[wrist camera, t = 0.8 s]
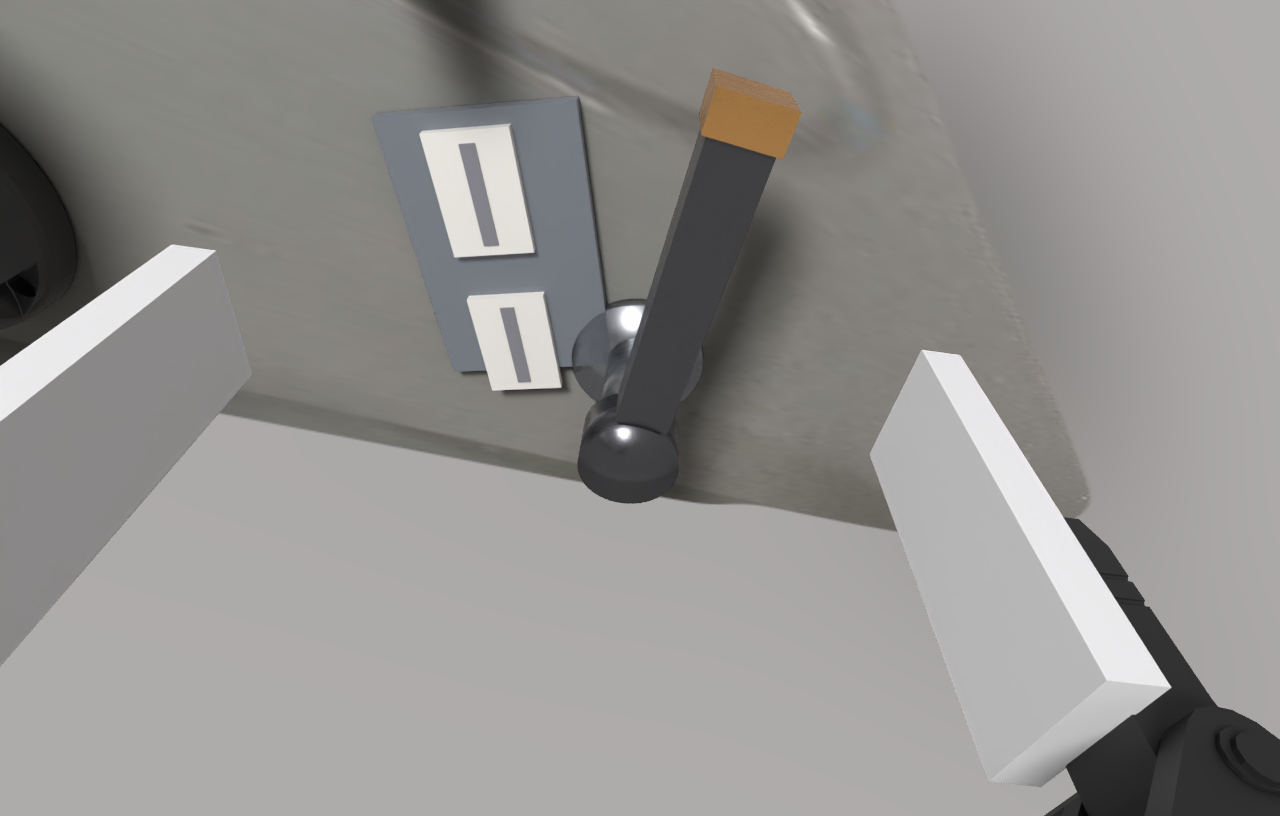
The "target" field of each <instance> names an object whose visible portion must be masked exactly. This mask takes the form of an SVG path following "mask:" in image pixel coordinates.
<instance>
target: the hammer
mask: <svg viewBox="0 0 1280 816" xmlns="http://www.w3.org/2000/svg"><path fill="white" fill-rule="evenodd" d="M801 113H802V112H801V110H800V108H799V107H798V105H797V103H796V101H795V100H794V98H793V96H792V94H791V93H790V92H787V91H784V90H781V89H778V88H775V87H771V86H768V85H765V84H762V83H759V82H755V81H752V80H749V79H746V78H743V77H740V76H736V75H733V74H730V73H727V72H724V71H720V70H717V69H714V68H713V69H712V72H711V76H710V79H709V82H708V85H707V89H706V92H705V95H704V99H703V102H702V105H701V108H700V112H699V120H700V131H699V134H698V138H697V141H696V144H695V147H694V150H693V154H692V157H691V160H690V163H689V166H688V170H687V173H686V176H685V179H684V183H683V186H682V189H681V192H680V195H679V199H678V202H677V205H676V208H675V211H674V215H673V218H672V221H671V224H670V227H669V231H668V234H667V237H666V240H665V243H664V247H663V250H662V253H661V256H660V259H659V263H658V266H657V269H656V272H655V275H654V279H653V282H652V285H651V288H650V291H649V295H648V298H647V301H646V304H645V307H644V311H643V314H642V317H641V320H640V323H639V327H638V330H637V333H636V336H635V339H634V343H633V346H632V349H631V352H630V355H629V359H628V362H627V365H626V368H625V371H624V375H623V378H622V381H621V384H620V387H619V391H618V393H617V394H613V395H610V396H607V397H605V398H603V399H601V400H600V401H598V402H597V403H596V404H595V405H593V406H592V408H591V409H590V410H589V412H588V414H587V416H586V419H585V424H584V429H583V435H582V440H581V446H580V452H579V457H578V472H579V475H580V477H581V479H582V481H583V482H584V484H585V485H586V486H587V487H588V488H589V489H590V490H592V491H593V492H594V493H595V494H597V495H599V496H601V497H603V498H605V499H608V500H610V501H614V502H619V503H642V502H647V501H650V500H653V499H655V498H658V497H659V496H661V495H663V494H664V493H666V492H667V491H668V490H669V489H670V488H671V487H672V485H673V484H674V482H675V480H676V478H677V474H678V425H677V421H676V418H675V413H676V411H677V408H678V405H679V403H680V400H681V398H682V395H683V393H684V390H685V388H686V385H687V383H688V380H689V378H690V375H691V372H692V370H693V367H694V365H695V362H696V360H697V357H698V355H699V352H700V350H701V347H702V345H703V342H704V340H705V337H706V334H707V332H708V329H709V327H710V324H711V322H712V319H713V317H714V314H715V312H716V309H717V307H718V304H719V301H720V299H721V296H722V294H723V291H724V289H725V286H726V284H727V281H728V279H729V276H730V274H731V271H732V268H733V266H734V263H735V261H736V258H737V256H738V253H739V251H740V248H741V246H742V243H743V241H744V238H745V235H746V233H747V230H748V228H749V225H750V223H751V220H752V218H753V215H754V213H755V210H756V208H757V205H758V202H759V200H760V197H761V195H762V192H763V190H764V187H765V185H766V182H767V180H768V177H769V175H770V172H771V169H772V167H773V164H774V162H775V159H776V158H779V159H783V158H784V155H785V153H786V150H787V148H788V145H789V143H790V140H791V138H792V135H793V133H794V130H795V128H796V125H797V123H798V120H799V118H800V115H801Z"/></svg>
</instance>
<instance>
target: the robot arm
mask: <svg viewBox="0 0 1280 816" xmlns="http://www.w3.org/2000/svg"><path fill="white" fill-rule="evenodd" d="M75 268H76V246H75V240H74V236H73V232H72V228H71V225H70V222H69V220H68V217H67V215H66V212H65V210H64V208H63V206H62V204H61V202H60V200H59V198H58V196H57V195H56V193H55V191H54V189H53V188H52V186H51V185H50V183H49V181H48V180H47V179H46V177H45V176H44V174H43V173H42V171H41V170H40V169H39V167H38V166H37V165H36V163H35V162H34V161H33V160H32V158H31V157H30V156H29V155H28V154H27V152H26V151H25V150H24V149H23V148H22V147H21V146H20V145H19V143H18V142H17V141H16V140H15V139H14V138H13V137H12V136H11V135H10V134H9V133H8V132H7V131H6V130H5V129H4V128H3V127H2V126H1V125H0V329H3V328H6V327H10V326H13V325H15V324H18V323H20V322H23V321H25V320H26V319H28V318H30V317H32V316H33V315H35V314H36V313H38V312H39V311H41V310H43V309H44V308H46V307H47V306H49V305H50V304H52V303H53V302H55V301H56V300H58V299H59V298H60V297H61V296H62V295H63V294H64V293H65V292H66V290H67V289H68V287H69V286H70V284H71V282H72V279H73V277H74V273H75ZM251 375H252V371H251V368H250V365H249V361H248V358H247V354H246V351H245V348H244V344H243V341H242V337H241V334H240V330H239V327H238V324H237V320H236V317H235V313H234V310H233V307H232V303H231V300H230V296H229V293H228V290H227V286H226V283H225V279H224V276H223V273H222V269H221V266H220V262H219V259H218V255H217V252H216V251H215V250H207V249H200V248H193V247H186V246H179V245H170V246H169V247H168V248H166V249H165V250H163V251H162V252H161V253H159V254H158V255H156V256H155V257H153V258H152V259H151V260H149V261H148V262H146V263H145V264H144V265H142V266H141V267H139V268H138V269H137V270H135V271H134V272H132V273H131V274H129V275H128V276H127V277H125V278H124V279H122V280H121V281H120V282H118V283H117V284H115V285H114V286H113V287H111V288H110V289H108V290H107V291H105V292H104V293H103V294H101V295H100V296H98V297H97V298H96V299H94V300H93V301H91V302H90V303H88V304H87V305H86V306H84V307H83V308H81V309H80V310H79V311H77V312H76V313H74V314H73V315H72V316H70V317H69V318H67V319H66V320H64V321H63V322H62V323H60V324H59V325H57V326H56V327H55V328H53V329H52V330H50V331H49V332H48V333H46V334H45V335H43V336H42V337H40V338H39V339H38V340H36V341H35V342H33V343H32V344H31V345H29V346H28V347H26V348H25V349H24V350H22V351H21V352H19V353H18V354H16V355H15V356H14V357H12V358H11V359H9V360H8V361H7V362H5V363H4V364H2V365H1V366H0V666H1V665H2V664H3V663H4V662H5V660H6V659H7V658H8V657H9V656H10V655H11V654H12V652H13V651H14V650H15V649H16V648H17V647H18V645H19V644H20V643H21V642H22V641H23V640H24V639H25V637H26V636H27V635H28V634H29V633H30V632H31V630H32V629H33V628H34V627H35V626H36V624H37V623H38V622H39V621H40V620H41V619H42V618H43V616H44V615H45V614H46V613H47V612H48V611H49V609H50V608H51V607H52V606H53V605H54V604H55V603H56V601H57V600H58V599H59V598H60V597H61V596H62V595H63V593H64V592H65V591H66V590H67V589H68V587H69V586H70V585H71V584H72V583H73V582H74V580H75V579H76V578H77V577H78V576H79V575H80V574H81V572H82V571H83V570H84V569H85V568H86V567H87V566H88V564H89V563H90V562H91V561H92V560H93V559H94V557H95V556H96V555H97V554H98V553H99V552H100V550H101V549H102V548H103V547H104V546H105V545H106V543H107V542H108V541H109V540H110V539H111V537H112V536H113V535H114V534H115V533H116V532H117V531H118V530H119V528H120V527H121V526H122V525H123V524H124V523H125V521H126V520H127V519H128V518H129V517H130V516H131V515H132V513H133V512H134V511H135V510H136V509H137V508H138V506H139V505H140V504H141V503H142V502H143V500H144V499H145V498H146V497H147V496H148V495H149V494H150V492H151V491H152V490H153V489H154V488H155V487H156V486H157V484H158V483H159V482H160V481H161V480H162V479H163V477H164V476H165V475H166V474H167V473H168V471H169V470H170V469H171V468H172V467H173V466H174V465H175V463H176V462H177V461H178V460H179V459H180V457H181V456H182V455H183V454H184V453H185V452H186V451H187V450H188V448H189V447H190V446H191V445H192V444H193V442H194V441H195V440H196V439H197V438H198V437H199V436H200V435H201V433H202V432H203V431H204V430H205V429H206V427H207V426H208V425H209V424H210V423H211V422H212V420H213V419H214V418H215V417H216V416H217V415H218V414H219V413H220V411H221V410H222V409H223V408H224V407H225V406H226V404H227V403H228V402H229V401H230V400H231V399H232V397H233V396H234V395H235V394H236V393H237V392H238V390H239V389H240V388H241V387H242V386H243V385H244V384H245V382H246V381H247V380H248V379H249V378H250V377H251ZM870 457H871V459H872V462H873V465H874V468H875V470H876V473H877V476H878V479H879V481H880V484H881V487H882V490H883V493H884V495H885V498H886V501H887V504H888V506H889V509H890V512H891V515H892V517H893V520H894V523H895V526H896V528H897V531H898V534H899V537H900V539H901V542H902V545H903V548H904V550H905V553H906V556H907V559H908V561H909V564H910V567H911V570H912V572H913V575H914V578H915V581H916V583H917V586H918V589H919V592H920V595H921V597H922V600H923V603H924V605H925V608H926V611H927V614H928V616H929V619H930V622H931V625H932V628H933V630H934V633H935V636H936V639H937V641H938V644H939V647H940V650H941V653H942V655H943V658H944V661H945V664H946V666H947V669H948V672H949V675H950V677H951V680H952V683H953V685H954V688H955V691H956V694H957V697H958V699H959V702H960V705H961V708H962V710H963V713H964V716H965V719H966V722H967V724H968V727H969V730H970V733H971V735H972V738H973V741H974V743H975V746H976V749H977V752H978V754H979V757H980V760H981V763H982V766H983V768H984V771H985V774H986V777H987V779H988V782H996V783H1006V784H1016V785H1027V786H1036V787H1042V786H1043V785H1044V784H1046V783H1047V782H1048V781H1050V780H1051V779H1052V778H1054V777H1055V776H1056V775H1058V774H1059V773H1060V772H1061V771H1063V770H1064V769H1065V768H1067V770H1068V772H1069V775H1070V777H1071V779H1072V781H1073V783H1074V785H1075V788H1076V790H1077V793H1076V794H1074V795H1073V796H1071V797H1070V798H1069V799H1067V800H1066V801H1065V802H1063V803H1062V804H1060V805H1059V806H1057V807H1056V808H1054V809H1053V810H1052V811H1050V812H1049V813H1047V814H1046V815H1044V816H1280V740H1279V739H1278V738H1277V737H1275V736H1274V735H1273V734H1271V733H1270V732H1269V731H1267V730H1266V729H1265V728H1263V727H1262V726H1260V725H1259V724H1258V723H1257V722H1255V721H1253V720H1251V719H1249V718H1247V717H1245V716H1243V715H1241V714H1238V713H1236V712H1235V711H1233V710H1229V709H1225V708H1220V707H1218V706H1217V705H1216V704H1215V703H1214V701H1213V700H1212V699H1211V697H1210V696H1209V694H1208V693H1207V692H1206V690H1205V688H1204V687H1203V685H1202V684H1201V682H1200V681H1199V679H1198V678H1197V677H1196V675H1195V674H1194V672H1193V671H1192V669H1191V668H1190V666H1189V665H1188V663H1187V662H1186V660H1185V659H1184V657H1183V656H1182V654H1181V653H1180V651H1179V650H1178V649H1177V647H1176V646H1175V644H1174V643H1173V641H1172V640H1171V638H1170V637H1169V635H1168V634H1167V632H1166V631H1165V629H1164V628H1163V626H1162V625H1161V624H1160V622H1159V620H1158V619H1157V617H1156V616H1155V615H1154V613H1153V612H1152V610H1151V609H1150V607H1146V606H1145V605H1144V601H1145V600H1144V598H1143V597H1142V595H1141V594H1140V592H1139V591H1138V589H1137V588H1136V587H1135V585H1134V584H1133V582H1129V581H1128V575H1127V573H1126V572H1125V570H1124V569H1123V567H1122V566H1121V564H1120V563H1119V561H1118V560H1117V558H1116V557H1115V556H1114V554H1113V553H1112V551H1111V550H1110V548H1109V547H1108V546H1107V545H1106V544H1105V543H1104V542H1103V541H1102V540H1101V539H1100V538H1099V537H1098V536H1096V535H1095V534H1094V533H1093V532H1092V531H1091V530H1090V529H1089V528H1088V527H1087V526H1085V524H1083V523H1082V522H1081V521H1080V520H1079V519H1073V518H1065V517H1063V516H1062V515H1061V513H1060V512H1059V510H1058V508H1057V507H1056V505H1055V504H1054V502H1053V501H1052V499H1051V497H1050V496H1049V494H1048V493H1047V491H1046V490H1045V488H1044V486H1043V485H1042V483H1041V482H1040V480H1039V479H1038V477H1037V475H1036V474H1035V472H1034V471H1033V469H1032V468H1031V466H1030V464H1029V463H1028V461H1027V460H1026V458H1025V457H1024V455H1023V453H1022V452H1021V450H1020V449H1019V447H1018V446H1017V444H1016V442H1015V441H1014V439H1013V438H1012V436H1011V435H1010V433H1009V431H1008V430H1007V428H1006V427H1005V425H1004V424H1003V422H1002V420H1001V419H1000V417H999V416H998V414H997V413H996V411H995V409H994V408H993V406H992V405H991V403H990V402H989V400H988V398H987V397H986V395H985V394H984V392H983V391H982V389H981V387H980V386H979V384H978V383H977V381H976V380H975V378H974V376H973V375H972V373H971V372H970V370H969V369H968V367H967V365H966V364H965V362H964V361H963V359H962V358H961V356H960V355H955V354H948V353H941V352H934V351H927V350H921V352H920V354H919V356H918V358H917V360H916V362H915V364H914V366H913V368H912V370H911V372H910V374H909V376H908V378H907V380H906V382H905V384H904V386H903V388H902V390H901V392H900V394H899V396H898V398H897V400H896V402H895V404H894V406H893V408H892V410H891V412H890V414H889V416H888V418H887V420H886V422H885V424H884V426H883V428H882V430H881V432H880V434H879V436H878V438H877V440H876V442H875V444H874V446H873V448H872V450H871V452H870Z"/></svg>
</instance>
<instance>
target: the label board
mask: <svg viewBox="0 0 1280 816" xmlns="http://www.w3.org/2000/svg"><path fill="white" fill-rule="evenodd" d="M371 118H372V121H373V124H374V127H375V130H376V133H377V136H378V139H379V142H380V145H381V148H382V151H383V155H384V158H385V161H386V164H387V167H388V170H389V173H390V176H391V179H392V182H393V185H394V188H395V192H396V195H397V198H398V201H399V204H400V207H401V210H402V213H403V216H404V219H405V222H406V225H407V229H408V232H409V235H410V238H411V241H412V244H413V247H414V250H415V253H416V256H417V259H418V262H419V266H420V269H421V272H422V275H423V278H424V281H425V284H426V287H427V290H428V293H429V296H430V299H431V303H432V306H433V309H434V312H435V315H436V318H437V321H438V324H439V327H440V330H441V333H442V336H443V340H444V343H445V346H446V349H447V352H448V355H449V358H450V361H451V364H452V367H453V370H454V372H462V371H485V370H487V373H488V377H489V380H490V384H491V387H492V391H493V390H516V389H540V388H561V387H562V383H563V382H562V377H561V372H560V367H573V365H574V363H573V364H572V362H575V363H576V364H575V366H577V363H578V366H581V365H582V366H585V365H586V366H594V365H595V366H596V365H598V364H600V365H605V364H606V365H607V362H606V361H608V356H609V354H607V353H606V352H607V351H609V350H610V349H609V350H608V347H609V348H610V342H609V337H608V334H607V333H606V332H608V328H607V323H606V322H607V320H606V317H605V314H606V313H605V311H606V305H607V304H606V297H605V290H604V282H603V275H602V267H601V260H600V252H599V245H598V238H597V230H596V223H595V215H594V208H593V200H592V193H591V186H590V178H589V171H588V163H587V156H586V148H585V141H584V133H583V126H582V119H581V111H580V104H579V96H572V97H560V98H548V99H536V100H524V101H512V102H500V103H488V104H476V105H464V106H452V107H440V108H428V109H416V110H404V111H392V112H380V113H376V114H375V115H374V116H372V117H371ZM603 314H604V315H603ZM598 315H600V316H599V317H603V318H602V319H601V318H599V317H598ZM602 315H603V316H602ZM596 318H597V319H596ZM592 319H593V320H592ZM603 319H604V320H603ZM599 320H600V321H601V322H600V321H599ZM605 320H606V321H605ZM591 321H592V322H594V321H595V322H594V323H592V322H591ZM598 321H599V322H598ZM602 321H603V322H602ZM604 321H605V322H604ZM589 322H590V323H589ZM587 323H588V324H587ZM591 323H592V324H591ZM596 323H598V325H599V326H596V325H597V324H596ZM600 324H601V326H602V327H601V326H600ZM605 324H606V326H605ZM587 325H589V326H590V327H591V328H593V329H591V328H589V329H588V327H589V326H587ZM594 325H595V326H596V327H597V328H598V327H599V328H598V329H597V328H596V327H595V326H594ZM603 325H604V326H605V327H604V326H603ZM593 326H594V327H595V328H594V327H593ZM585 328H586V329H585ZM603 328H604V329H605V330H604V329H603ZM582 329H584V330H582ZM587 329H588V330H589V331H588V330H587ZM590 329H591V330H590ZM585 330H587V331H588V332H589V333H588V332H587V331H585ZM594 330H595V331H594ZM597 330H598V331H599V332H600V334H599V332H598V331H597ZM582 331H583V332H585V333H583V332H582ZM601 331H602V333H601ZM591 332H592V333H591ZM593 332H594V334H593ZM579 333H580V334H581V333H582V334H581V335H582V336H581V335H580V334H579ZM595 333H596V334H595ZM586 334H587V335H589V334H590V335H589V336H590V337H591V336H592V334H593V336H592V337H591V338H590V337H589V336H587V335H586ZM578 335H580V336H581V337H580V336H578ZM585 335H586V336H587V337H586V336H585ZM594 335H595V337H596V338H595V337H594ZM599 335H600V336H601V337H599ZM605 335H606V337H605ZM577 336H578V339H577ZM583 337H584V338H583ZM602 337H603V338H602ZM607 338H608V339H607ZM585 339H587V340H589V341H588V342H589V343H587V342H586V341H587V340H585ZM592 339H593V340H592ZM594 339H596V340H597V341H595V340H594ZM600 339H601V340H600ZM603 339H605V340H606V341H607V340H608V341H607V342H606V341H605V340H604V342H605V343H604V342H603ZM576 340H577V341H578V340H579V341H580V342H575V341H576ZM582 340H583V342H582ZM584 340H585V341H584ZM599 340H600V341H599ZM593 341H595V342H593ZM581 342H582V343H581ZM596 342H597V344H596ZM601 342H602V343H601ZM574 343H575V344H574ZM579 343H581V345H580V348H579V345H578V344H579ZM590 343H591V344H590ZM592 343H593V344H594V345H592ZM600 343H601V344H600ZM576 344H577V345H576ZM595 344H596V345H595ZM603 344H604V345H605V346H606V347H607V346H608V347H607V351H606V347H605V346H602V345H603ZM585 345H586V346H585ZM589 345H590V347H589ZM591 345H592V346H591ZM573 346H576V347H577V346H578V348H576V347H573ZM583 346H584V347H583ZM587 346H588V347H587ZM599 346H600V347H601V346H602V347H601V348H599ZM585 347H586V348H587V349H588V350H587V349H586V348H585ZM595 347H596V348H598V349H600V350H601V351H600V350H598V351H597V349H596V348H595ZM573 348H575V349H576V351H574V350H575V349H573ZM583 348H585V349H583ZM590 348H593V349H592V351H591V349H590ZM602 348H603V349H602ZM572 350H573V352H572ZM577 350H579V353H577ZM582 350H584V351H582ZM580 351H581V352H580ZM586 351H587V352H586ZM588 351H589V352H590V351H591V352H590V354H589V352H588ZM585 352H586V353H588V354H589V355H586V354H585ZM594 352H595V353H594ZM610 352H611V350H610V351H609V352H608V353H610ZM574 353H575V354H576V357H574V356H575V354H574ZM597 353H598V354H599V356H598V354H597ZM601 353H602V354H601ZM604 353H605V354H604ZM572 354H573V355H574V356H573V355H572ZM581 354H582V355H581ZM584 354H585V355H584ZM592 354H593V355H592ZM594 354H596V355H595V356H594ZM603 354H604V355H603ZM606 355H607V356H606ZM572 356H573V358H572ZM582 356H583V357H582ZM590 356H591V358H592V359H594V358H595V357H596V359H597V360H596V359H594V360H592V359H591V358H589V357H590ZM592 356H593V357H592ZM600 356H601V357H600ZM580 357H582V358H580ZM599 357H600V359H598V358H599ZM604 357H605V358H604ZM575 358H576V359H577V360H578V361H577V360H576V359H575ZM579 358H580V361H579ZM602 358H603V359H602ZM572 359H573V360H574V361H573V360H572ZM586 359H587V360H588V361H587V360H586ZM599 360H600V361H601V362H600V361H599ZM584 361H585V362H584ZM595 361H596V362H595ZM598 361H599V362H598ZM604 361H605V362H604ZM587 362H589V364H588V363H587ZM593 362H595V363H593ZM580 363H581V364H580ZM586 363H587V364H588V365H587V364H586ZM592 363H593V364H594V365H592ZM584 364H585V365H584ZM590 364H591V365H590Z"/></svg>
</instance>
